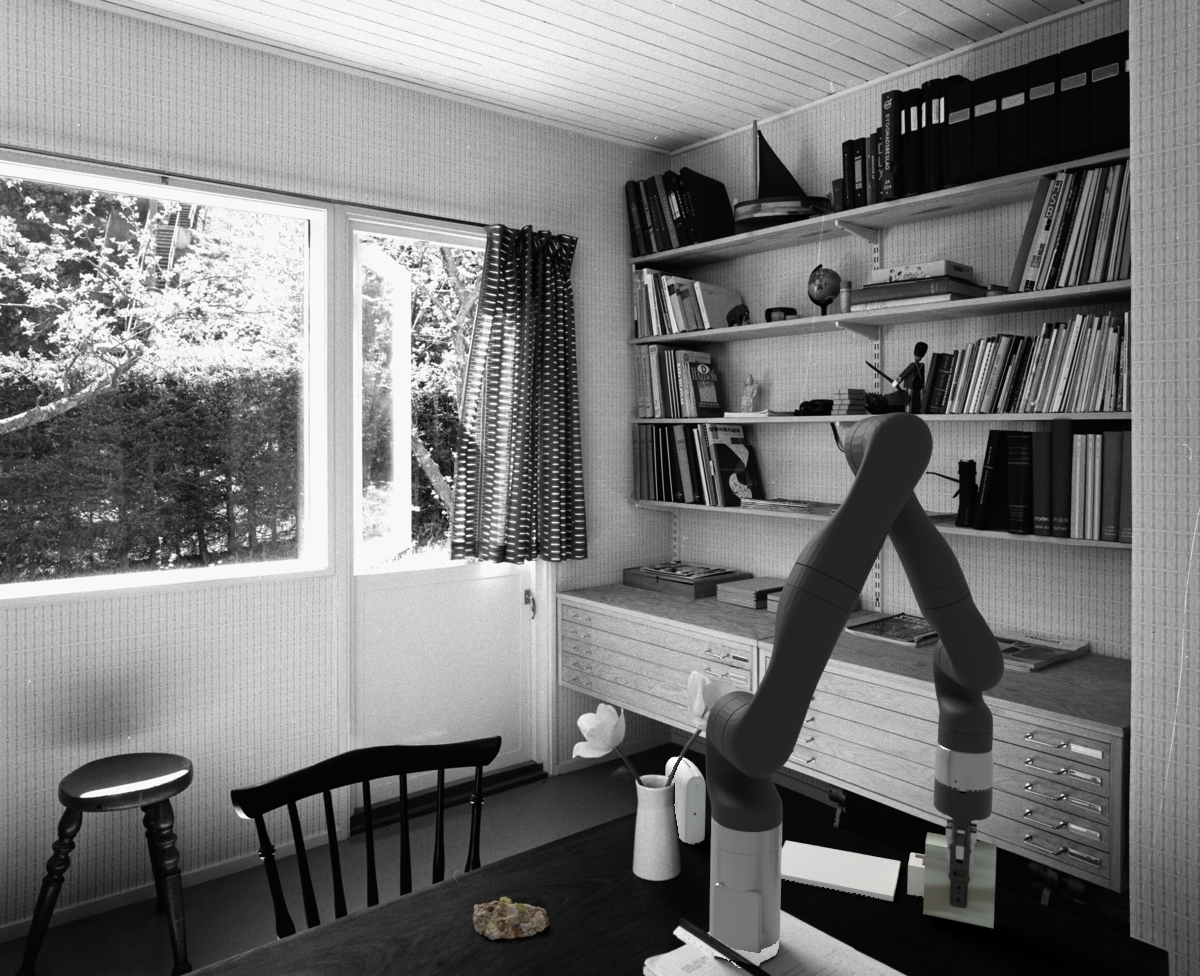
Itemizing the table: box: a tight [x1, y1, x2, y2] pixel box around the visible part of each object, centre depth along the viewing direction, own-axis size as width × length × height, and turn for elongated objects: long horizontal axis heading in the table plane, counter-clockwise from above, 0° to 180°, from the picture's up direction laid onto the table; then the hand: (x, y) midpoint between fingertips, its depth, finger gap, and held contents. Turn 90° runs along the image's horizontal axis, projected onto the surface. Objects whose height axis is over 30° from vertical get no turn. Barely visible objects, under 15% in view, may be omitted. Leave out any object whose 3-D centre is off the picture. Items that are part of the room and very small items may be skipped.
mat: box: [781, 840, 901, 902], centre depth 141 cm, size 12×18×1 cm, turn 67°
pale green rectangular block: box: [922, 831, 997, 929], centre depth 126 cm, size 4×9×10 cm, turn 67°
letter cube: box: [906, 852, 925, 898], centre depth 135 cm, size 4×4×5 cm
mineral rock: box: [472, 896, 550, 941], centre depth 124 cm, size 11×4×8 cm
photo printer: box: [665, 756, 707, 845], centre depth 154 cm, size 10×4×12 cm, turn 17°
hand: (958, 897), depth 126 cm, fingers closed on pale green rectangular block, 4 cm apart
